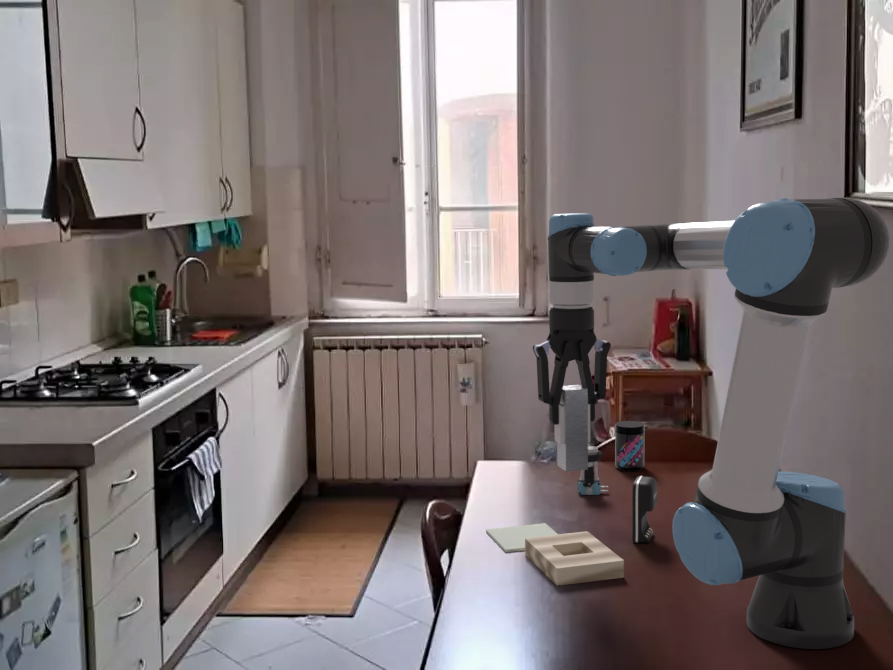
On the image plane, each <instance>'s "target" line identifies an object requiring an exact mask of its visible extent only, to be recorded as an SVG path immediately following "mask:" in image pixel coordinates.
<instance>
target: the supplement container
mask: <svg viewBox="0 0 893 670" xmlns="http://www.w3.org/2000/svg"><path fill="white" fill-rule="evenodd" d="M645 429H646V426H645V423H644V422H642V421H638V420H637V421H635V420H623V421H621V420H620V421H617V422H615V425H614V432H615V434H614V435H615V436H614V437H615V438H614V439H615V442H614V443H615V444H614V448H615V449H614V451H615V452H614V453H615V454H614V455H615V456H614V457H615V458H614V460H615V462H614V464H615V466H614V467H616V469H617V470H619V471H623V472H637V471H641V470H643V469H644V467H645V431H646V430H645Z"/></svg>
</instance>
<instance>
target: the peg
mask: <svg viewBox="0 0 893 670" xmlns="http://www.w3.org/2000/svg"><path fill="white" fill-rule="evenodd" d="M560 405H562V406H564V444H561V445H560V444H559V443H557V442H556V443H557V448H556V449H557V450H556V451H557V452H556V453H557V456H556V457H557V458H556V460H557V467H558V468H560V469H561V470H563V471H565V472H576V471H581V470H584V471H585V470H588V446H589V442H588V389H587V388H585V387H583V386H582V385H581V384H570V385H563V390H562V395H561V400H560Z"/></svg>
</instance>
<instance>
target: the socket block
mask: <svg viewBox="0 0 893 670" xmlns="http://www.w3.org/2000/svg"><path fill="white" fill-rule="evenodd" d="M557 534H558V535H549V536H540V537H531V538H525V550H524V555H525V556H526V557H527V558H528V559H529V560H530V561H531V562H532V563H533V564H534V565H536V567H537V568H538V569H540V571H541V572H542V573H543V574H545V576H546V577H547V578H548V579H549V580H551V582H552V583H554V585H555V586H559V585H560V586H566V585H575V584H581V583H590V582H599V581H606V580H614V579H622V578H624V577H625V560H624V558H622V557H620V556H619V555H618V554H616V553H615V552H614V551H613V550H611V549H610V548H609V547H608V546H606V545H605V544H604V543H603V542H602V541H600V540H599V539H598V538H596V537H595V536H594V535H593V534H592V533H590V531H578V532H569V533H557Z"/></svg>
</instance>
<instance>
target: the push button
mask: <svg viewBox="0 0 893 670" xmlns="http://www.w3.org/2000/svg"><path fill="white" fill-rule="evenodd" d="M602 454H603V453H602V451H601V450H598V447H597V446H596V445H595V446H593V445H588V470H580V477H579V479H578V480H577V493H578V495H582V496H584V495H586V496H588V495H589V496H591V495H592V496H594V495H596V496H597V495H601V492H609V490H608V489H601V488H609V486H608V485H601V481H600V478H599V475H598V466H599V465H598V462H599V461H601V456H602Z"/></svg>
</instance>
